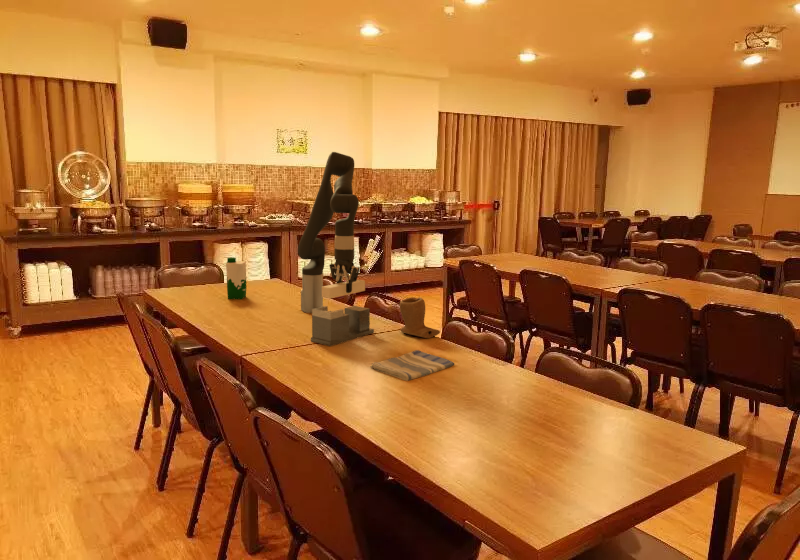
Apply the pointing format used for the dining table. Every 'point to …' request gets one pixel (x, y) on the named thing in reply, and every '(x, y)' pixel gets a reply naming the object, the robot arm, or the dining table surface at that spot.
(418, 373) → the dish towel
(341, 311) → the stand
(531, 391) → the dining table surface
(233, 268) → the milk carton
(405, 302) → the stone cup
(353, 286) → the rail
